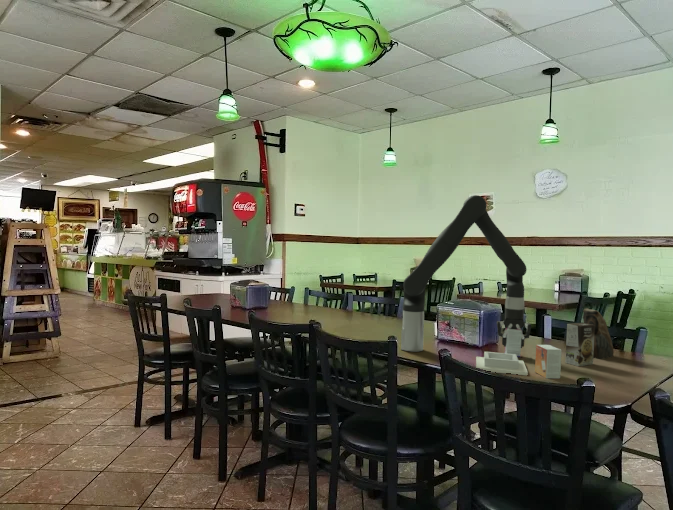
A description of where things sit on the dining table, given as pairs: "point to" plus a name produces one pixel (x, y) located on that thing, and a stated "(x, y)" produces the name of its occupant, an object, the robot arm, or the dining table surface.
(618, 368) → the dining table surface
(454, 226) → the robot arm
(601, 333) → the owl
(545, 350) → the small box
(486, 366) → the collar socket
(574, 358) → the coffee box
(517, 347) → the supplement box
